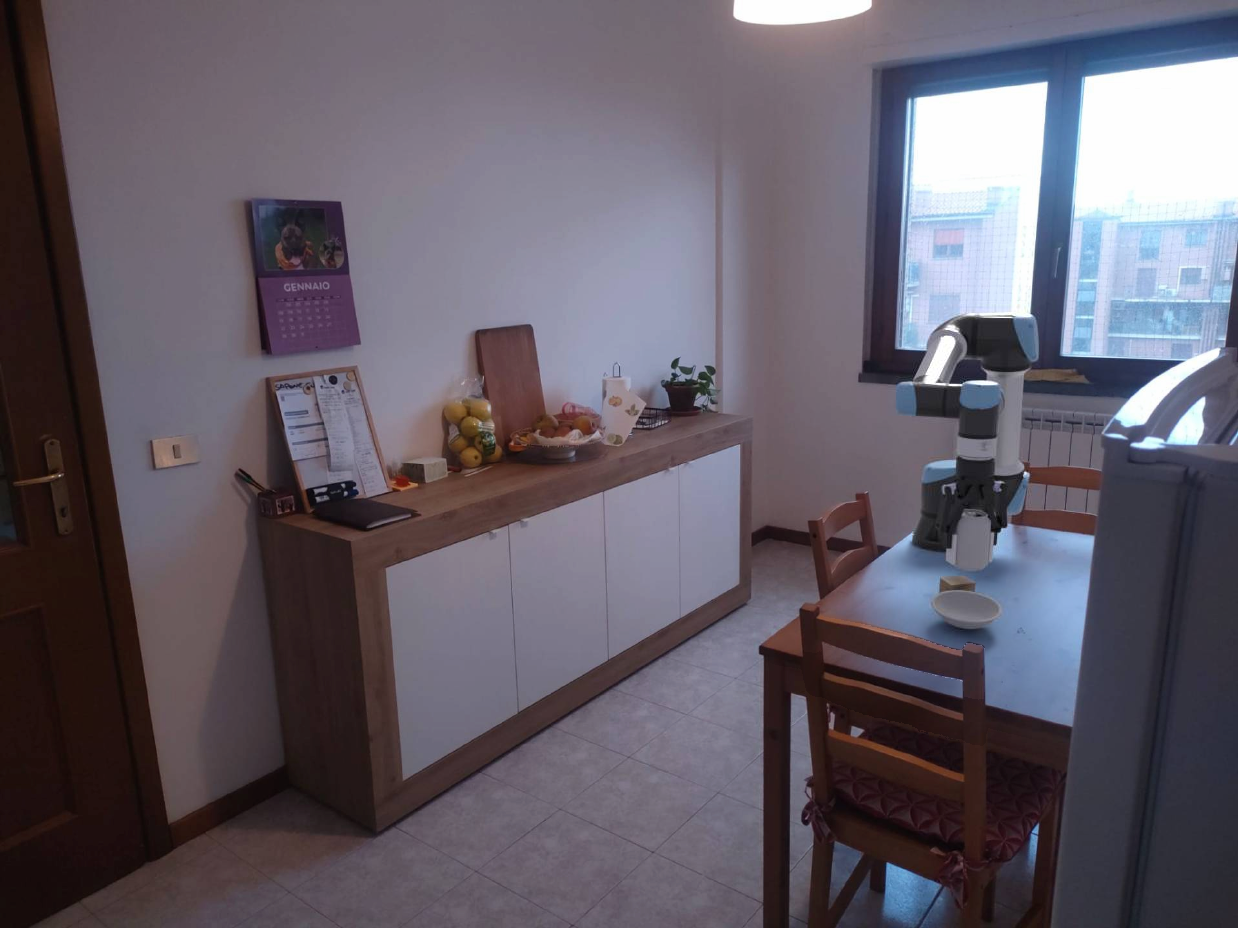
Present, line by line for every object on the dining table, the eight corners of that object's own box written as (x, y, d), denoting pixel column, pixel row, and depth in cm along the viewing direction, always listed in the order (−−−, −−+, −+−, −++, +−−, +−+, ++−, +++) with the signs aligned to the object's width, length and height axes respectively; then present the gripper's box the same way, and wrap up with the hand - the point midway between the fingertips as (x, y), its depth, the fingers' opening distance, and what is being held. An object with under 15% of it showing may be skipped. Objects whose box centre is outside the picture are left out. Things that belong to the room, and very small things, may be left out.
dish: (1003, 647, 176) (1005, 625, 175) (929, 639, 181) (930, 617, 180) (998, 614, 192) (999, 593, 191) (929, 607, 197) (931, 587, 196)
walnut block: (962, 591, 206) (963, 575, 205) (974, 598, 201) (975, 582, 200) (939, 593, 205) (940, 577, 204) (950, 601, 200) (951, 585, 199)
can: (991, 573, 178) (995, 517, 176) (952, 571, 180) (956, 516, 177) (983, 560, 186) (987, 507, 183) (947, 559, 187) (950, 506, 184)
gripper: (937, 463, 173) (931, 570, 178) (1032, 457, 175) (1024, 563, 180) (920, 455, 180) (915, 558, 185) (1012, 450, 182) (1004, 552, 187)
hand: (968, 560), depth 182 cm, fingers closed on can, 7 cm apart
